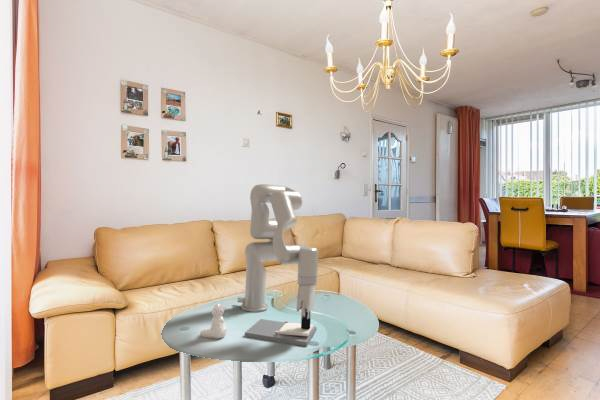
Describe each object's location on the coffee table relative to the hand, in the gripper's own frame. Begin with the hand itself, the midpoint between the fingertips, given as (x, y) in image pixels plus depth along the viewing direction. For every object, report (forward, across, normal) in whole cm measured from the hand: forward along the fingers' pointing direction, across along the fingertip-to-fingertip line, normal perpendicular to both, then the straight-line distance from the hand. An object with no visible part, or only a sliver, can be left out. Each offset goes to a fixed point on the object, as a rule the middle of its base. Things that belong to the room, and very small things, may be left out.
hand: (305, 328), depth 125 cm
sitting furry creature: (+3, +11, -32) cm, 33 cm away
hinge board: (+3, 0, -10) cm, 10 cm away
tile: (0, 0, -4) cm, 4 cm away
